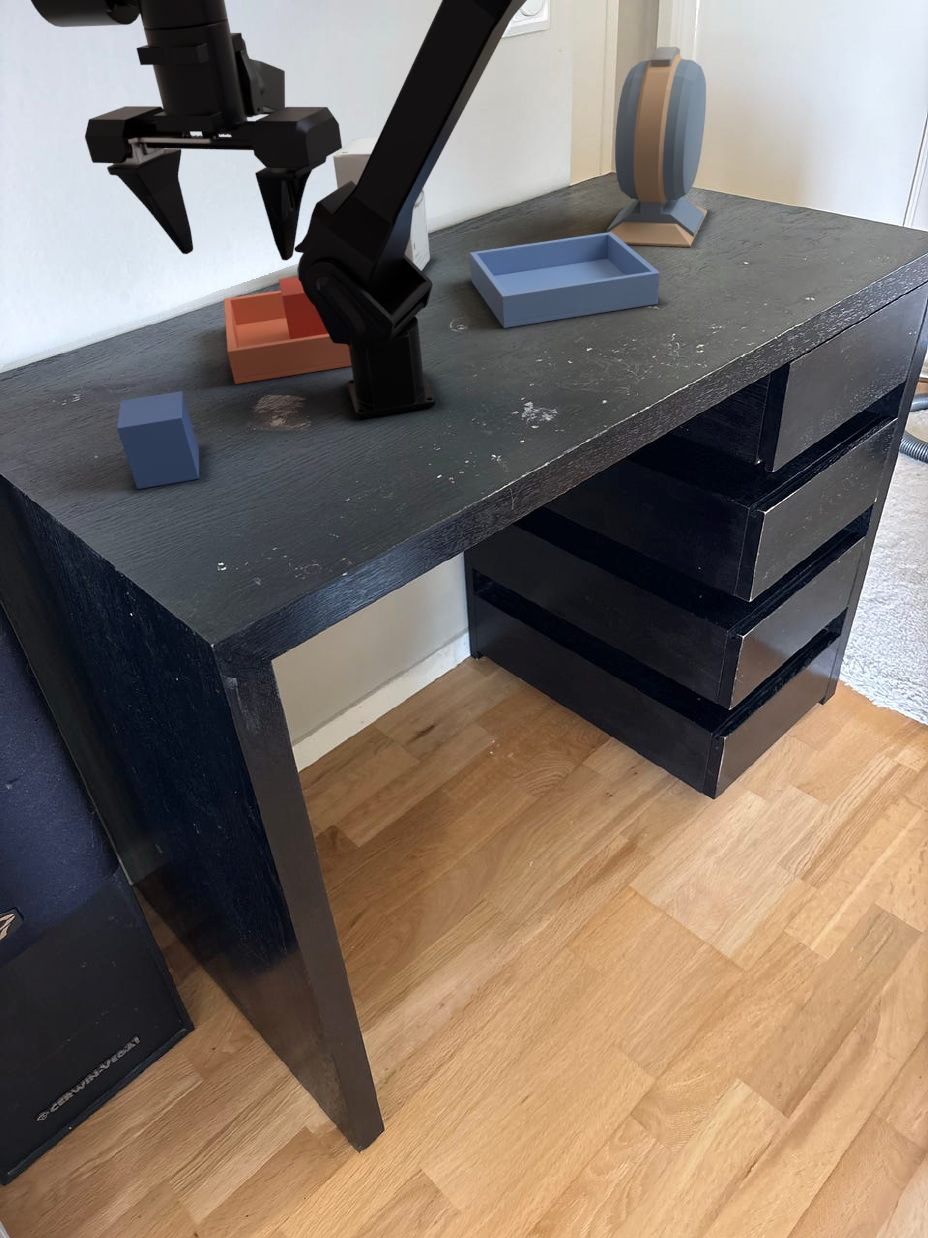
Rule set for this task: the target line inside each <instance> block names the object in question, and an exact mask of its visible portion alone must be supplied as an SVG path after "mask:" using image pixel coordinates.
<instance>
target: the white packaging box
mask: <svg viewBox="0 0 928 1238" xmlns="http://www.w3.org/2000/svg"><path fill="white" fill-rule="evenodd" d="M378 138H379V137H364V138H363V137H362V138H353V139H352V140H351V141H350V142H349V143H347V144H346V145H345V146H344V147H342V148H341V149H340V150H338V151H337V153H336V154H334V155H333V156H332V158H333V164H334V173H335V179H336V187H337V189H338V188H340V187H341V186H343V185H344V184H346V183H347V182H349V181H350V180H351V181H353V182H354V183H355V185H357V183H358V181H359V179H360V177H361V175H362V172H363V170H364V168H365V166H366V164H367V162H368V159H369V157H370V155H371V153H372V151H373V149H374V147H375V144H376V142H377V140H378ZM425 195H426V194H425V186H424V187H423V189H422V191H421V193H420V195H419V197H418V199H417V200H416V203H415V206H414V209H413V215H412V224H411V233H410V239H409V242H408V245H407V248H406V251H405V255H406V256H407V257H408V258H409V259H410V260H411V261H412V262H413V263H414V264H415V265H416V266H417V267H418V268H419V269H420V270H421V271H422V272H423V270H424V268H425V267H426V265H427V264H428V263H429V262H430V260H431V256H430V255H431V254H430V243H429V232H428V220H427V219H428V218H427V206H426V196H425Z"/></svg>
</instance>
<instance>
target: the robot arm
mask: <svg viewBox="0 0 928 1238" xmlns="http://www.w3.org/2000/svg"><path fill="white" fill-rule="evenodd" d="M527 1H528V0H441V1H440V4H439V6H438V8H437V11H436V12H435V15H434V17H433V19H432V22H431V23H430V26H429V28H428V30H427V32H426V35H425V37H424V38H423V41H422V43H421V45H420V47H419V49H418V51H417V54H416V56H415V58H414V60H413V62H412V64H411V66H410V69H409V71H408V73H407V75H406V77H405V80H404V82H403V84H402V86H401V89H400V91H399V93H398V95H397V97H396V99H395V101H394V104H393V106H392V108H391V110H390V112H389V114H388V117H387V118H386V121H385V122H384V125H383V128H382V129H381V132H380V134H379V135H378V137H377V138H378V140H377V142H376V144H375V147H374V149H373V151H372V153H371V155H370V157H369V159H368V162H367V164H366V166H365V168H364V170H363V172H362V175H361V177H360V179H359V181H358V183H357V185H355V183H354V182H353V181H351V180H350V181H349V182H347V183H346V184H344V185H343V186H341V187H340V188H337V189H335V190H333V191H332V192H331V193H329V194H327V195H326V196H324V197H323V198H321V199H320V200H319V201H317V202H316V203H315V205H314V208H313V210H312V212H311V216H310V220H309V225H308V228H307V231H306V234H305V236H304V237H303V239H302V240H301V242H299V243H298V244H297V245H296V246H295V243H296V238H297V231H298V225H299V224H298V223H299V218H300V212H301V204H302V200H303V197H304V193H305V189H306V186H307V182H308V180H309V178H310V175H311V174H312V172H313V171H314V170H315V169H316V168H318V167H320V166H322V165H323V164H326V162H327V159H328V157H329V156H331V155H332V154H334V153H336V152H339V151H341V150H342V149H343V143H342V136H341V129H340V123H339V122H338V120H337V119H336V117H335V116H334V114H333V113H332V112H331V110H330V109H329V107H328V106H286V71H285V70H283V69H281V68H279V67H277V66H274V65H271V64H269V63H267V62H264V61H261V60H256V59H252V58H250V56H249V54H248V50H247V49H248V48H247V44H246V41H245V39H244V38H243V34H242V32H231V28H230V23H229V17H228V12H227V11H228V10H227V7H226V1H225V0H30V2H31V3H32V5H33V7H34V9H35V10H36V11H37V13H38V14H39V15H40V17H42V18H43V19H44V20H45V21H46V22H47V23H48V24H50V25H53V26H55V27H58V28H77V27H78V28H80V27H104V26H105V27H106V26H128V25H131V24H133V23H134V22H135V21H137V19H138V17H139V16H140V18H141V23H142V26H143V30H144V36H145V40H146V44H145V45H142V46H139V47H136V53H137V56H138V59H139V60H138V61H139V64H140V66H152V68H153V72H154V76H155V81H156V84H157V88H158V92H159V96H160V101H161V105H162V106H159V105H158V106H156V105H155V106H151V105H150V106H147V105H145V106H143V105H141V106H140V105H138V106H135V105H134V106H131V105H130V106H129V105H127V106H126V105H125V106H121V107H119V108H116V109H114V110H111V111H108V112H105V113H102V114H99V115H98V116H94V117H91V118H89V119H88V120H87V126H86V129H85V135H84V140H85V143H86V146H87V149H88V150H87V151H88V153H89V156H90V160H91V162H92V164H111V165H108V166H107V167H106V170H107V172H108V174H109V175H110V176H116V177H117V178H119V179H120V181H121V182H122V183H123V184H124V185H125V186H126V188H128V190H130V191H131V193H132V194H133V195H134V196H135V197H136V198H137V200H138V201H140V202H141V203H142V205H143V206H144V207H145V208H146V209H147V210H148V212H149V213H150V215H151V216H152V217H153V218H154V219H155V221H156V222H157V223H158V225H159V226H160V227H161V228H162V230H163V231H164V232H165V233H166V235H167V236H168V237H169V238H170V240H171V241H172V243H173V244H174V245H175V246H176V247H177V249H178V250H179V251H180V253H181V254H183V255H188V254H191V253H193V251H194V244H193V236H192V235H193V234H192V229H191V225H190V221H189V216H188V213H187V209H186V203H185V199H184V196H183V192H182V191H183V190H182V187H181V183H180V180H179V171H180V165H181V157H182V150H220V151H221V150H223V151H253V155H254V157H255V158H256V159H257V160H258V161H259V162H260V163H261V164H262V165H263V166H264V168H261V169H260V170H258V171H256V172H254V175H255V178H256V182H257V185H258V188H259V193H260V196H261V199H262V202H263V206H264V209H265V213H266V217H267V220H268V224H269V227H270V231H271V233H272V237H273V241H274V245H275V247H276V249H277V251H278V253H279V256H280V258H281V260H282V261H289V260H290V259H291V258H293V256H294V252H296V253H300V254H301V256H300V257H299V260H298V265H297V268H296V269H297V275H296V277H298V280H299V281H300V282H301V284H302V287H303V290H304V292H305V294H306V296H307V297H308V299H309V300H310V302H311V303H312V304H313V305H314V306H315V308H316V310H317V312H318V314H319V316H320V318H321V320H322V322H323V324H324V326H325V328H326V330H327V332H328V334H329V336H330V338H331V340H332V342H333V343H336V344H347V345H348V347H349V354H350V360H351V366H350V367H351V373H352V379H349V380H348V381H347V382H346V387H347V390H348V393H349V396H350V400H351V403H352V407H353V410H354V413H355V417H357V418H359V419H363V418H369V417H370V418H371V417H376V416H382V415H387V414H394V413H395V414H396V413H400V412H406V411H411V410H412V411H413V410H418V409H424V408H425V409H426V408H431V407H434V406H435V405H436V404H437V401H436V396H435V395H434V393H433V390H432V387H431V386H430V384H429V382H428V380H427V377H426V375H425V373H424V369H423V359H422V349H421V339H420V329H419V321H418V318H417V315H418V314H419V313H420V312H421V311H422V309H425V308H426V307H427V306H428V304H429V302H430V301H429V300H430V297H431V293H432V289H433V281H432V280H431V279H430V278H429V277H428V276H427V275H426V273H424V272H423V270H422V271H421V270H420V269H419V268H418V267H417V266H416V265H415V264H414V263H413V262H412V261H411V260H410V259H409V258H408V257H407V256H406V255H405V251H406V248H407V245H408V242H409V239H410V233H411V224H412V215H413V209H414V206H415V203H416V200H417V199H418V197H419V195H420V193H421V191H422V189H423V187H424V188H425V186H426V183H427V181H428V179H429V177H430V176H431V174H432V171H434V168H435V166H436V164H437V162H438V160H439V158H440V156H441V154H442V153H443V150H444V148H445V147H446V146H447V143H448V141H449V139H450V138H451V135H452V133H453V131H454V129H455V127H456V126H457V124H458V122H459V120H460V118H461V116H462V115H463V112H464V110H465V109H466V106H467V104H468V103H469V101H470V99H471V97H472V95H473V93H474V91H475V89H476V87H477V85H478V83H479V82H480V80H481V78H482V76H483V74H484V73H485V70H486V69H487V66H488V64H489V62H490V60H491V59H492V57H493V55H494V54H495V51H496V49H497V47H498V45H499V44H500V41H501V40H502V38H503V36H504V34H505V32H506V29H507V28H508V26H509V24H510V22H511V21H512V19H513V18H514V17H515V15H516V13H518V11H519V10H520V9H521V8H522V7H523V6H524V4H526V2H527ZM260 115H264V116H263V117H261V118H259V119H256V120H248V118H254V117H257V116H260ZM192 133H201V135H199V134H198V135H196V134H195V135H193V134H192ZM222 135H224V136H222Z"/></svg>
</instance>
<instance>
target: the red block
mask: <svg viewBox="0 0 928 1238" xmlns="http://www.w3.org/2000/svg"><path fill="white" fill-rule="evenodd" d="M278 283H279V289H280V291H281V294H282V299H283V304H284V310H285V315H286V320H287V325H288V330H289V335H290V340H291V339H297V338H304V337H310V336H317V335H323V334H328V332H327V330H326V328H325V326H324V324H323V322H322V320H321V318H320V316H319V314H318V312H317V310H316V308H315V306H314V305H313V304H312V303H311V302H310V300H309V299H308V297H307V296H306V294H305V292H304V290H303V287H302V284H301V282H300V281H299V280H298V276H293V277H287V278H285V277H284V278H280V279H278Z"/></svg>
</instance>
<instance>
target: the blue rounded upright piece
mask: <svg viewBox="0 0 928 1238" xmlns="http://www.w3.org/2000/svg"><path fill="white" fill-rule="evenodd" d="M650 57H651V58H650V59H649V60H643V61H640V62H638V63H637V64H635V65H634V66H632V67H631V69H630V70H629V72H627V75H626V77H625V80H624V82H623V85H622V89H621V93H620V98H619V104H618V111H617V117H616V127H615V139H614V140H615V142H614V164H615V175H616V181H617V183H618V186H619V189H620V191H621V192H622V193H623V194H625V195H626V196H627V197H628V198H630V199H632V200H634V201H632V202H631V203H630V204H628V205H627V206H625V207H624V208H622V209H621V210H620V211H619V212H618V213H617V215H616V216H615V217H614V219H613V220H612V222H611V224H610V225H609V226H608V227H607V229H606V231H605V233H608V232H612V233H613V234H614V235H616V236H617V237H618V238H619V239H620V240H622V241H623V242H624V243H625V244H626V245H634V246H635V245H637V246H655V247H656V246H657V247H677V248H678V247H680V248H691V245H692V244H693V241H694V240H695V238H696V236H697V233H698V232H699V230H700V228H701V225H702V223H703V222H704V220H705V218H706V215H707V213H708V210H706V209H704V208H702V207H700V206H698V205H696V204H694V203H692V202H691V201H689V199H687V198H686V197H685V196H686V195H688V194H689V192H690V191H691V189H692V187H693V186H694V184H695V181H696V178H697V174H698V169H699V164H700V161H701V160H700V159H701V153H702V147H703V140H704V131H705V121H706V109H707V108H706V107H707V82H706V81H707V80H706V76H705V73H704V70H703V68H702V66H701V65H699V64H698V63H697V62H696V61H695V60H691V59H684V58H683V57H682V56H681V49H680V48H679V47H678V46H658V47H657V48H655V50H654V51H653V53H652V54H651V56H650Z"/></svg>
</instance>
